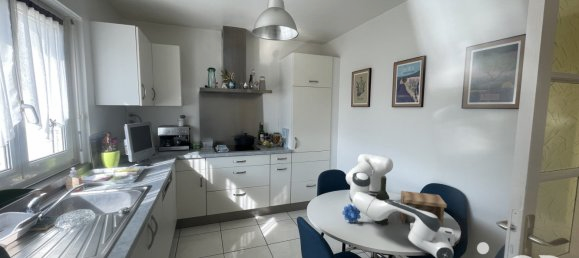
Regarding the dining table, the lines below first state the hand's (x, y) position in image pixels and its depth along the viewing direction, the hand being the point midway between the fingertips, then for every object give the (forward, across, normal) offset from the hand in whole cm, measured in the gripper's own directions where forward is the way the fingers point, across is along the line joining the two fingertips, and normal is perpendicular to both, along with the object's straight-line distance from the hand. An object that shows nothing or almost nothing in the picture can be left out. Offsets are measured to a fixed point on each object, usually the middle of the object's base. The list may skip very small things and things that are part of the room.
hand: (427, 224), depth 132 cm
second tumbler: (+19, -6, -7) cm, 21 cm away
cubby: (+16, 0, -7) cm, 18 cm away
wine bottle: (+9, -24, -7) cm, 26 cm away
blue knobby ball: (+2, -42, -8) cm, 42 cm away
